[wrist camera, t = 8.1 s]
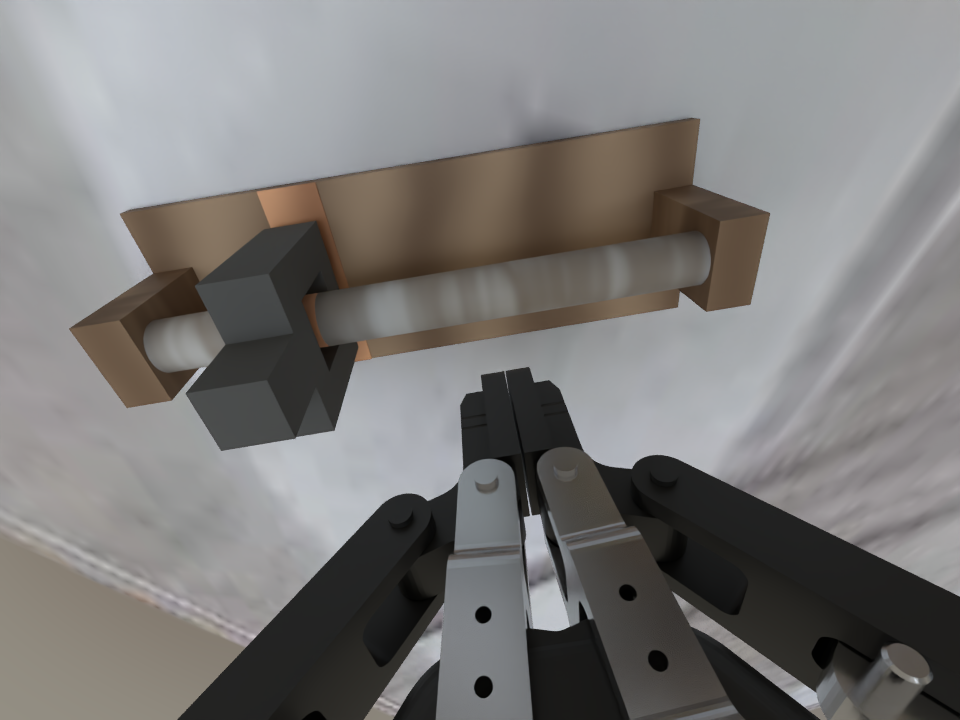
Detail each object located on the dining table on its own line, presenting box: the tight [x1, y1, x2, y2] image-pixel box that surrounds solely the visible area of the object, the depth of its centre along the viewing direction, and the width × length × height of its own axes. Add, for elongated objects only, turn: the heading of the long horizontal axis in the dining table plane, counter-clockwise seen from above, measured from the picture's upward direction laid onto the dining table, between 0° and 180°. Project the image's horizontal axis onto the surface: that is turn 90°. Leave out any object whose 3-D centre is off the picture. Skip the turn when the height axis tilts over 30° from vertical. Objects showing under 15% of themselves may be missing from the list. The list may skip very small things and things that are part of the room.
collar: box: [186, 221, 359, 451], centre depth 18 cm, size 2×7×10 cm, turn 8°
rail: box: [69, 118, 770, 408], centre depth 21 cm, size 28×10×7 cm, turn 98°
